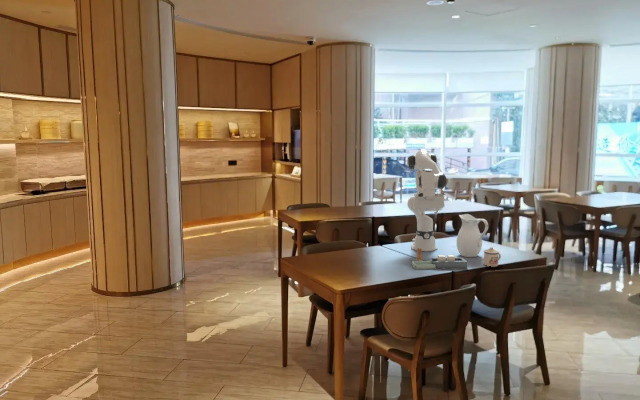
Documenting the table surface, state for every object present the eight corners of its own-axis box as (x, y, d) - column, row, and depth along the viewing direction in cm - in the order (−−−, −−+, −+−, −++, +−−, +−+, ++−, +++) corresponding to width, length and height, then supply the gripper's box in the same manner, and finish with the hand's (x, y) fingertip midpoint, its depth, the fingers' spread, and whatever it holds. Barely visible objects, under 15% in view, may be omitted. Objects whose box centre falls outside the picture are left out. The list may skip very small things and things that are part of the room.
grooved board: (431, 264, 325) (431, 257, 325) (462, 264, 326) (462, 257, 325) (435, 268, 315) (435, 261, 314) (467, 268, 315) (467, 261, 315)
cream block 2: (446, 261, 322) (447, 255, 321) (453, 261, 322) (453, 254, 321) (448, 262, 318) (448, 256, 317) (454, 262, 318) (455, 256, 317)
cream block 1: (437, 261, 322) (437, 255, 321) (443, 261, 322) (443, 255, 321) (439, 262, 318) (439, 256, 317) (445, 262, 318) (445, 256, 317)
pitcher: (450, 254, 352) (452, 214, 348) (469, 251, 360) (470, 213, 356) (475, 261, 331) (477, 220, 327) (494, 258, 339) (496, 218, 335)
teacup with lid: (490, 267, 317) (490, 249, 316) (480, 264, 326) (481, 246, 324) (505, 265, 322) (505, 247, 320) (495, 262, 330) (495, 244, 329)
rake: (416, 261, 332) (416, 247, 331) (420, 261, 332) (421, 247, 331) (417, 263, 327) (417, 249, 326) (422, 263, 328) (422, 249, 326)
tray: (411, 264, 325) (411, 261, 324) (431, 264, 325) (431, 260, 325) (414, 269, 315) (414, 265, 314) (435, 268, 315) (435, 264, 315)
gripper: (442, 193, 332) (443, 214, 332) (412, 194, 331) (412, 215, 331) (445, 193, 325) (445, 214, 326) (414, 194, 325) (414, 215, 325)
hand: (428, 215), depth 329 cm, fingers open, 8 cm apart
